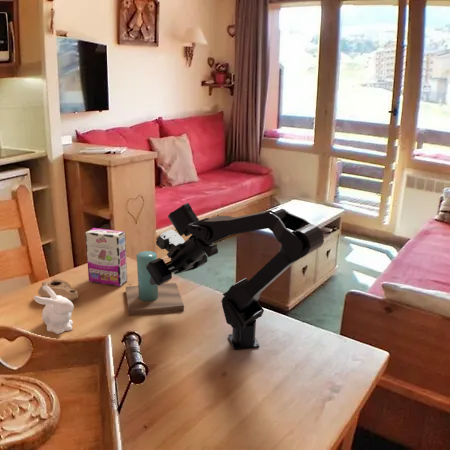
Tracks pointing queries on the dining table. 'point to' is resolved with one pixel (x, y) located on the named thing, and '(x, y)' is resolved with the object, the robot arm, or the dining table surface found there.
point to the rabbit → (56, 311)
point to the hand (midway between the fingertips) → (162, 277)
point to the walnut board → (164, 303)
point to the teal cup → (146, 277)
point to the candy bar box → (106, 256)
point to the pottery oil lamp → (59, 289)
